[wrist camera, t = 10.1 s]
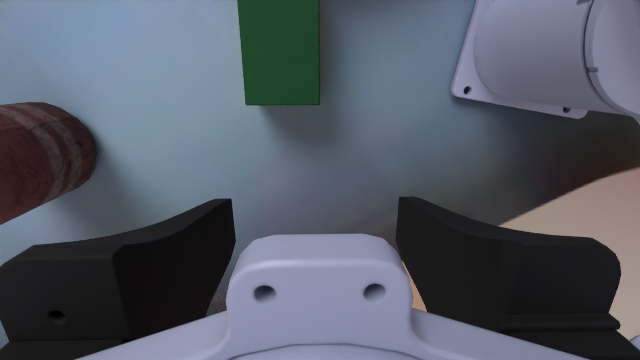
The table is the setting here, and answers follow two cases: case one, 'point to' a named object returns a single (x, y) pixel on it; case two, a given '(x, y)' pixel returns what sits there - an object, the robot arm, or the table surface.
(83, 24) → the table surface
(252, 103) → the sponge
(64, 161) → the can
